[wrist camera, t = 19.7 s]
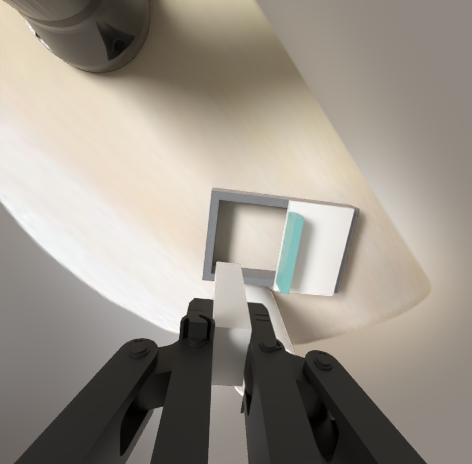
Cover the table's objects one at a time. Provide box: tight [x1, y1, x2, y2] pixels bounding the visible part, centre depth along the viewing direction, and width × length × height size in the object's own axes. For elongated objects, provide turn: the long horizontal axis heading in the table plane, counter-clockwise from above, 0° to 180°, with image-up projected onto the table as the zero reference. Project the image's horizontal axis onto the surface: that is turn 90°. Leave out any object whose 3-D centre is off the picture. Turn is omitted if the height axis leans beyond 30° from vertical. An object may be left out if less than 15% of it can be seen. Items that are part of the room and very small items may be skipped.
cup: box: [235, 284, 296, 396], centre depth 39 cm, size 8×8×16 cm
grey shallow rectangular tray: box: [202, 188, 359, 293], centre depth 42 cm, size 14×22×4 cm, turn 83°
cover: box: [273, 200, 355, 296], centre depth 38 cm, size 14×9×4 cm
